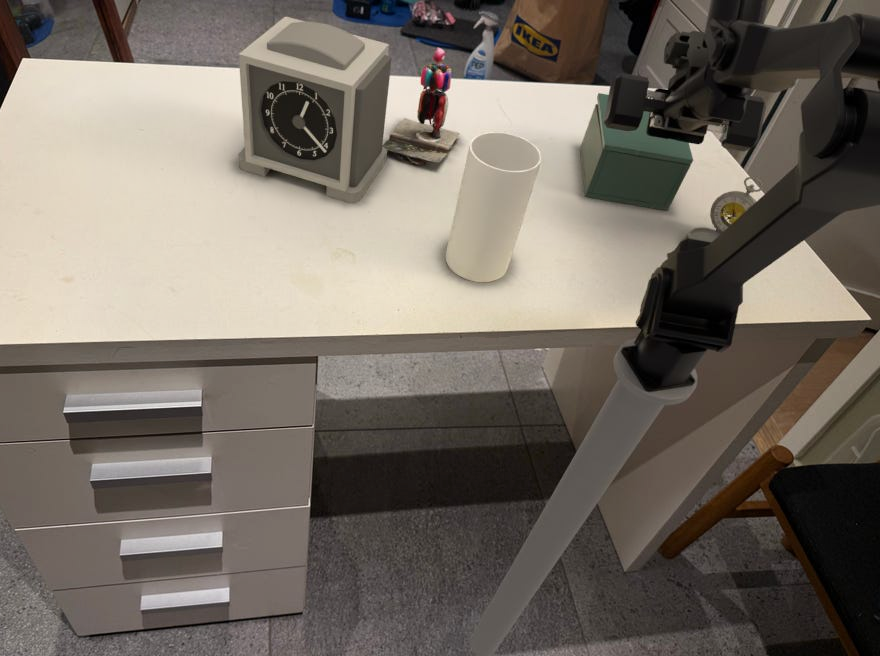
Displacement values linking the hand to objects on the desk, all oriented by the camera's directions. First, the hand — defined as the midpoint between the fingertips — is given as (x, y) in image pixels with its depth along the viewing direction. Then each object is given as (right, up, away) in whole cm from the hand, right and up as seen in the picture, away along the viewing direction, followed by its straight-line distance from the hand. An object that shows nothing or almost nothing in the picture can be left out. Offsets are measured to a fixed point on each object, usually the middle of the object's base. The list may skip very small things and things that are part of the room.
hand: (657, 132), depth 90 cm
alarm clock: (-48, -3, +6) cm, 48 cm away
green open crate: (-1, -3, +13) cm, 13 cm away
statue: (-32, +2, +12) cm, 35 cm away
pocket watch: (+9, -15, +4) cm, 18 cm away
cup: (-25, -18, -4) cm, 32 cm away
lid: (0, +3, +7) cm, 8 cm away
